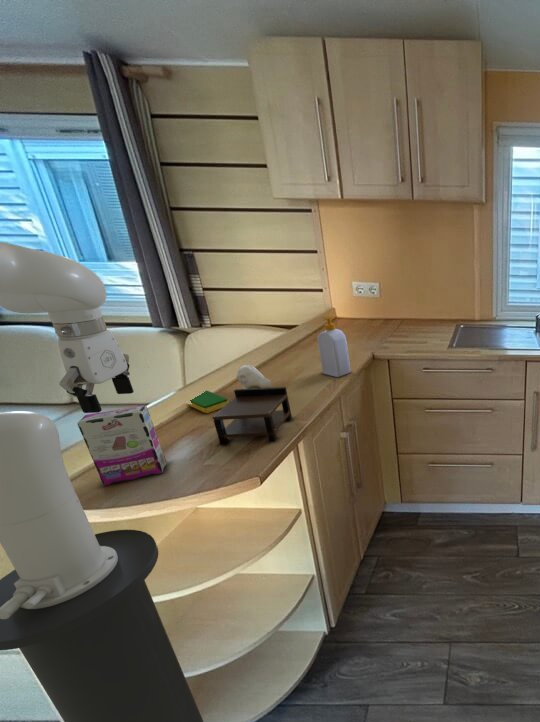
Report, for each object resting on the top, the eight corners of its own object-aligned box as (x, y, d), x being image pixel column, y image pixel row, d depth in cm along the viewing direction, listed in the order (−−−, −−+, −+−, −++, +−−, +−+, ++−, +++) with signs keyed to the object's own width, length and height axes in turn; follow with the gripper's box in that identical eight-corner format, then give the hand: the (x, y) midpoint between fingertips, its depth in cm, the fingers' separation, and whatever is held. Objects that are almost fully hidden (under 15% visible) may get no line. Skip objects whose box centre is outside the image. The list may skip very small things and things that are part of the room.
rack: (275, 441, 111) (267, 407, 108) (220, 444, 110) (210, 410, 106) (292, 418, 124) (285, 387, 121) (243, 421, 123) (235, 389, 119)
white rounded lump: (248, 361, 147) (274, 368, 144) (251, 383, 150) (277, 389, 147) (232, 367, 142) (259, 374, 138) (236, 389, 145) (263, 396, 142)
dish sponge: (206, 413, 127) (204, 406, 126) (185, 404, 134) (183, 397, 133) (229, 405, 133) (228, 398, 132) (208, 396, 140) (206, 390, 139)
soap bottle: (352, 372, 162) (345, 316, 154) (338, 377, 157) (329, 319, 148) (337, 368, 166) (328, 313, 158) (322, 373, 161) (313, 316, 152)
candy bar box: (167, 463, 101) (147, 403, 95) (163, 473, 97) (141, 412, 91) (109, 475, 96) (84, 413, 91) (102, 486, 92) (75, 422, 86)
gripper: (66, 339, 77) (98, 419, 83) (130, 317, 92) (153, 386, 99) (21, 340, 76) (57, 421, 82) (94, 318, 92) (119, 387, 98)
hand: (110, 402), depth 90 cm, fingers open, 9 cm apart
